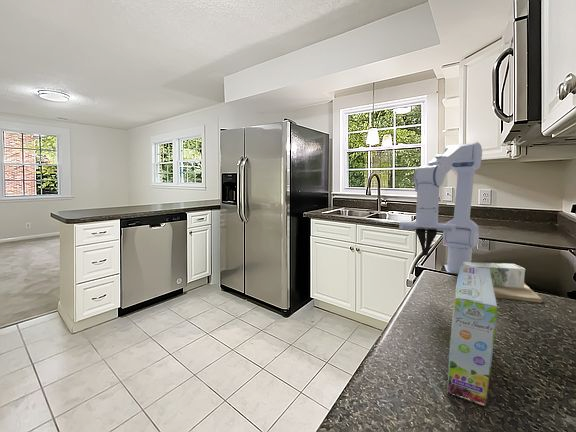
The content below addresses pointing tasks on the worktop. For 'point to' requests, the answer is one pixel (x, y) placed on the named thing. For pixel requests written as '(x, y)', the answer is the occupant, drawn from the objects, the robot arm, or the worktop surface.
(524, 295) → the cutting board
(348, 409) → the worktop surface
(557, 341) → the worktop surface
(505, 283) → the syrup box
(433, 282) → the worktop surface
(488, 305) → the snack box
